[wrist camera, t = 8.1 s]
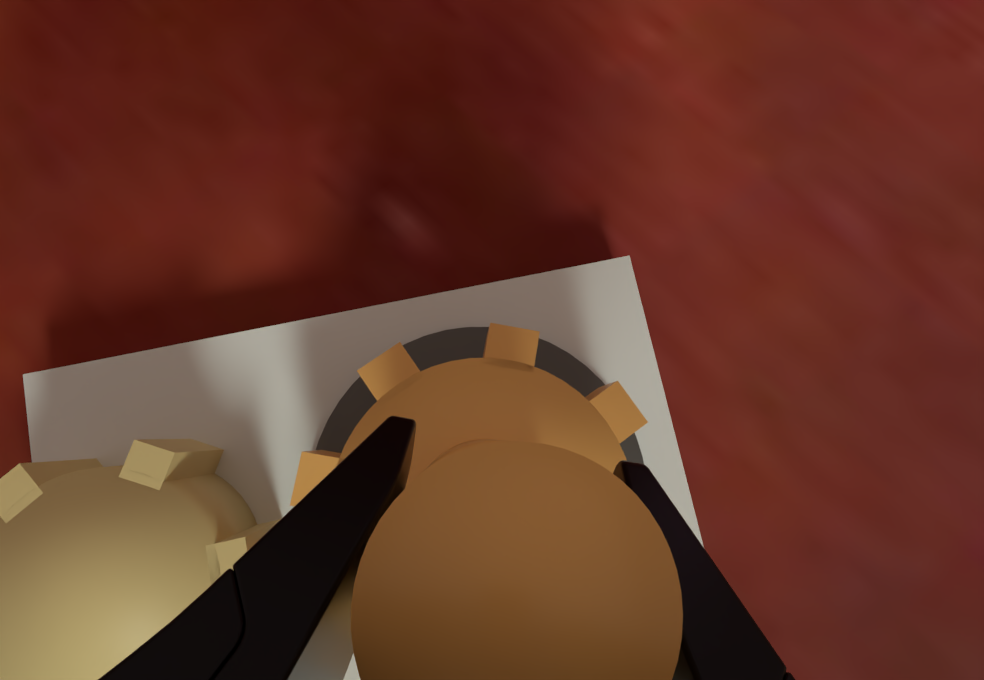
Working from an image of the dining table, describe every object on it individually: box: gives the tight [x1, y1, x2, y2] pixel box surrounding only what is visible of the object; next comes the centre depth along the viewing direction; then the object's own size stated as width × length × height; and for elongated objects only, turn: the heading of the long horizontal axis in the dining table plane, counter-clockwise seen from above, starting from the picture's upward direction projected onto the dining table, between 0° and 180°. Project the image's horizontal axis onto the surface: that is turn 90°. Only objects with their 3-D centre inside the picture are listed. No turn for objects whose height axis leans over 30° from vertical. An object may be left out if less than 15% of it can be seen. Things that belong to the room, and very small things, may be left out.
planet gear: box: [290, 323, 683, 680], centre depth 11 cm, size 9×9×10 cm
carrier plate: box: [0, 256, 704, 680], centre depth 16 cm, size 18×18×4 cm
